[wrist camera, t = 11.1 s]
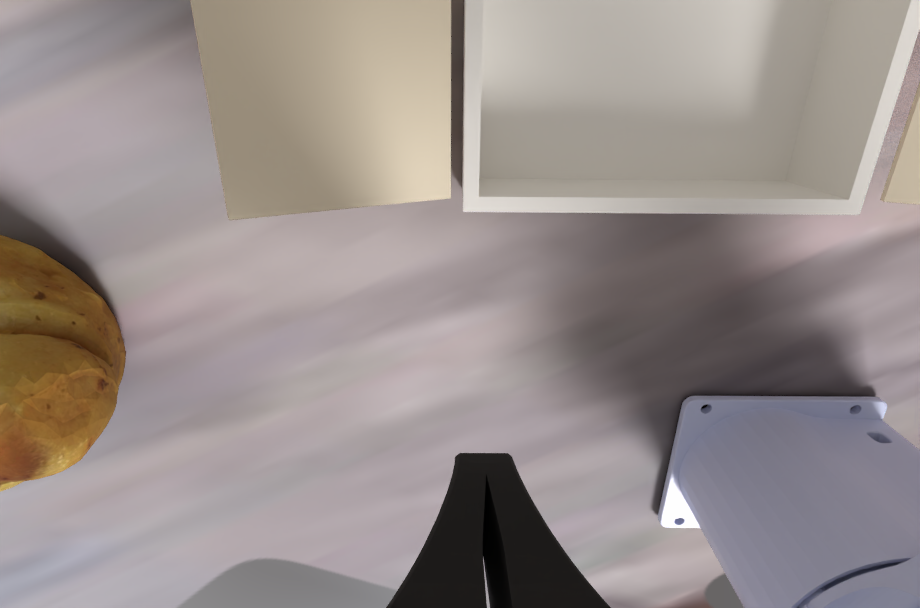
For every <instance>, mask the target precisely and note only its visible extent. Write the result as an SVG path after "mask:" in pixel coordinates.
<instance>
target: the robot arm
mask: <svg viewBox="0 0 920 608" xmlns="http://www.w3.org/2000/svg"><path fill="white" fill-rule="evenodd" d="M706 404H708V406H707V407H706V408H703V409H701V407H702V406H704V405H706ZM853 406H854V407H853ZM851 407H853V408H852V409H851ZM886 410H887V404H886V403H885V402H884V401H883V400H881V399H880V398H879V397H834V396H690V397H688V398H686V399H685V400H684V401H683V403H682V407H681V411H680V416H679V421H678V425H677V430H676V435H675V439H674V444H673V449H672V453H671V458H670V462H669V467H668V472H667V476H666V481H665V486H664V490H663V495H662V499H661V504H660V509H659V513H658V520H659V522H660V524H661V525H662V526H663V527H667V528H701V530H702V532H703V533H704V535H705V537H706V539H707V541H708V543H709V544H710V546H711V548H712V550H713V552H714V554H715V555H716V557H717V559H718V561H719V563H720V565H721V566H722V568H723V570H724V572H725V574H726V576H727V577H728V579H729V581H730V583H731V585H732V587H733V588H734V590H735V592H736V594H737V596H738V598H739V599H740V601H741V603H742V605H743V607H744V608H920V450H919V449H918V448H917V447H915V446H914V445H913V444H911V443H910V442H909V441H908V440H906V439H905V438H904V437H903V436H901V435H900V434H899V433H898V432H896V431H895V430H894V429H893V428H891V427H890V426H889V425H888V424H886V423H885V422H884V421H882V419H883V417H884V415H885V412H886ZM677 518H679V519H677ZM483 557H484V565H485V572H486V580H487V587H488V594H489V602H490V608H611V607H610V606H609V605H608V604H607V603H606V602H605V601H604V600H603V599H602V598H601V596H600V595H599V594H598V593H597V592H596V591H595V589H594V588H593V587H592V586H591V585H590V584H589V582H588V581H587V580H586V579H585V577H584V576H583V575H582V574H581V572H580V571H579V570H578V569H577V567H576V566H575V565H574V563H573V562H572V561H571V559H570V558H569V557H568V555H567V554H566V553H565V551H564V550H563V548H562V547H561V545H560V544H559V543H558V541H557V540H556V538H555V537H554V535H553V534H552V532H551V531H550V529H549V528H548V526H547V524H546V523H545V521H544V520H543V518H542V516H541V514H540V513H539V511H538V509H537V508H536V506H535V504H534V503H533V501H532V499H531V497H530V495H529V494H528V492H527V490H526V488H525V486H524V484H523V482H522V480H521V478H520V476H519V473H518V471H517V469H516V466H515V464H514V461H513V459H512V457H511V456H510V455H509V454H508V453H460V454H458V455H457V456H456V457H455V465H454V470H453V474H452V478H451V482H450V485H449V488H448V491H447V494H446V496H445V499H444V502H443V504H442V507H441V509H440V512H439V514H438V517H437V519H436V521H435V523H434V526H433V528H432V530H431V532H430V534H429V536H428V538H427V540H426V542H425V544H424V546H423V548H422V550H421V552H420V554H419V556H418V558H417V559H416V561H415V563H414V565H413V566H412V568H411V570H410V572H409V573H408V575H407V577H406V578H405V580H404V581H403V583H402V585H401V586H400V588H399V589H398V591H397V592H396V594H395V595H394V597H393V599H392V600H391V602H390V603H389V604H388V606H387V607H386V608H487V605H486V593H485V579H484V566H483Z"/></svg>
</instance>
